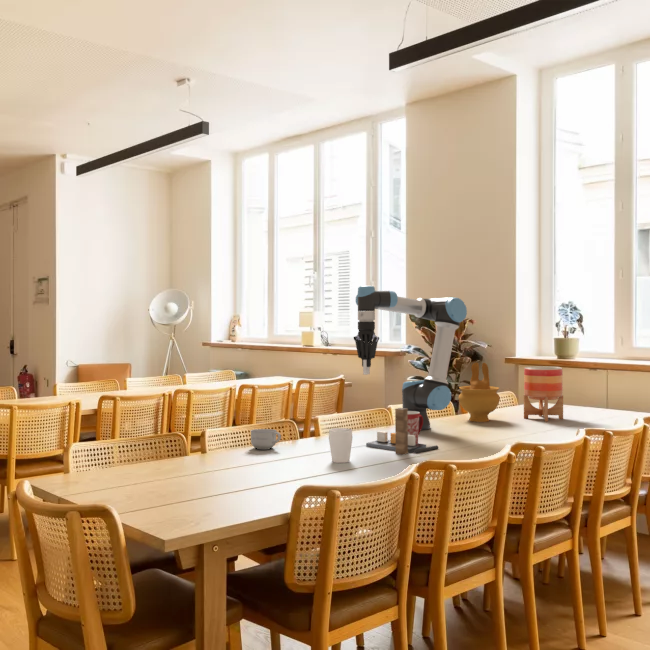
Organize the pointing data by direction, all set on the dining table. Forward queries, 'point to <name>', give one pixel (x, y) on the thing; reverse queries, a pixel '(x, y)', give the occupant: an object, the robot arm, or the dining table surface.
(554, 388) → the planter
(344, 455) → the cup
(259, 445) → the teacup
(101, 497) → the dining table surface
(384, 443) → the switch plate
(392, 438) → the block
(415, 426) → the mug
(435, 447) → the dark grey rod
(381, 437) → the paddle
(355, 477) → the dining table surface
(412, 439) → the cream rectangular box
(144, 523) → the dining table surface
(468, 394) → the cactus in yellow pot
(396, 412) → the post
